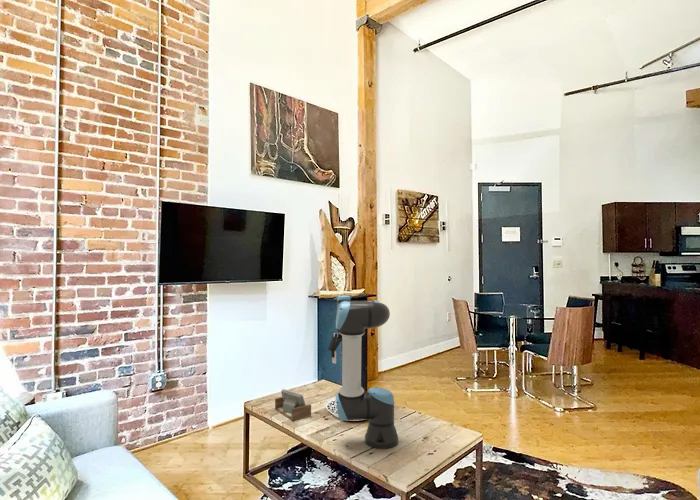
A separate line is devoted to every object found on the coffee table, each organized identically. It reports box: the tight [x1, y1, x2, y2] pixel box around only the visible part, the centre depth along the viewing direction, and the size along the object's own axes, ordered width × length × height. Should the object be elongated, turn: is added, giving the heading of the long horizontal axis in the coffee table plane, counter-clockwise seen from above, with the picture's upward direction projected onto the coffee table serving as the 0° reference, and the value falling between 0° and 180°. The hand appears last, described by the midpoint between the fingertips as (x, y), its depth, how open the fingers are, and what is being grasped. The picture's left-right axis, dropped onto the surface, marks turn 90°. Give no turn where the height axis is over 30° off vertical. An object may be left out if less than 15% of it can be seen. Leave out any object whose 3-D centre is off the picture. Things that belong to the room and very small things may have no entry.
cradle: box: [274, 396, 312, 422], centre depth 222 cm, size 20×11×6 cm, turn 36°
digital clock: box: [281, 388, 307, 414], centre depth 222 cm, size 16×9×11 cm, turn 39°
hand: (344, 361), depth 229 cm, fingers open, 13 cm apart
